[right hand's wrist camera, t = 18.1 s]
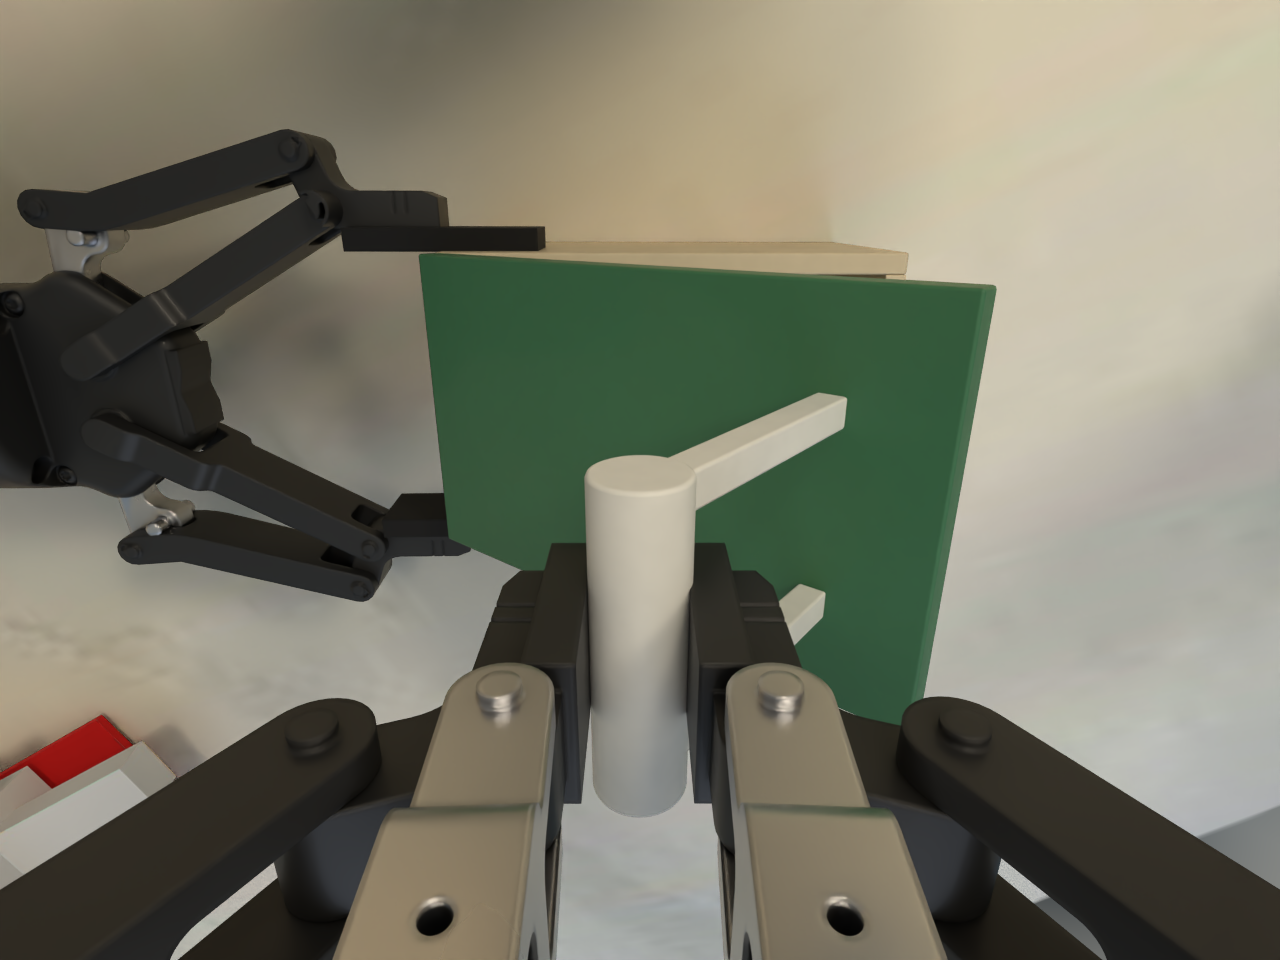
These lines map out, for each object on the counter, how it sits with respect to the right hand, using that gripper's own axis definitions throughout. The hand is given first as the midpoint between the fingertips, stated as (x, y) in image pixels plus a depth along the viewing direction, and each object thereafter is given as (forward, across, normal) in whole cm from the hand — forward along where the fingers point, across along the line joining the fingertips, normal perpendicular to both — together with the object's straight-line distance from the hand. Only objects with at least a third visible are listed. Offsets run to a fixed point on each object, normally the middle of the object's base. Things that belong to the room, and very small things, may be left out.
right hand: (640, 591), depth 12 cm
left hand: (+15, -4, 0) cm, 16 cm away
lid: (+8, 0, 0) cm, 8 cm away
